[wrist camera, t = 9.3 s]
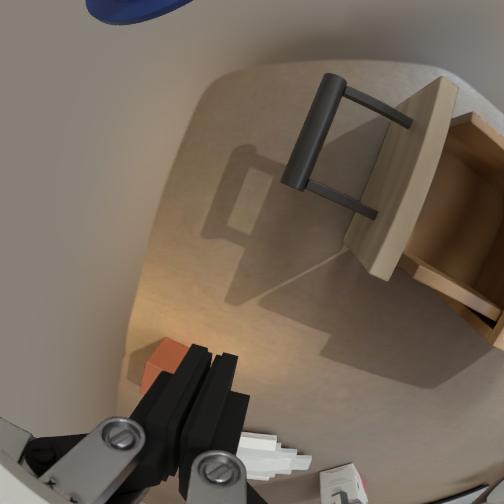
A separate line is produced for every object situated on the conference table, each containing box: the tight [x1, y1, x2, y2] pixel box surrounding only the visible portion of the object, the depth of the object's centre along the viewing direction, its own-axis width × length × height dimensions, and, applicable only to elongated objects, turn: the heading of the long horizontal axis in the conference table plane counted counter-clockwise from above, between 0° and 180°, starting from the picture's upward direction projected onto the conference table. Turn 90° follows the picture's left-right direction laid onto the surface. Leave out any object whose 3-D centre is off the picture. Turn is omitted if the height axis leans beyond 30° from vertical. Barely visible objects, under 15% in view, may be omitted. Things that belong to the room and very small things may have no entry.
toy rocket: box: [236, 432, 312, 481], centre depth 27 cm, size 16×10×2 cm, turn 87°
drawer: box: [280, 73, 504, 322], centre depth 15 cm, size 19×11×8 cm, turn 68°
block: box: [140, 337, 189, 395], centre depth 24 cm, size 4×4×4 cm
